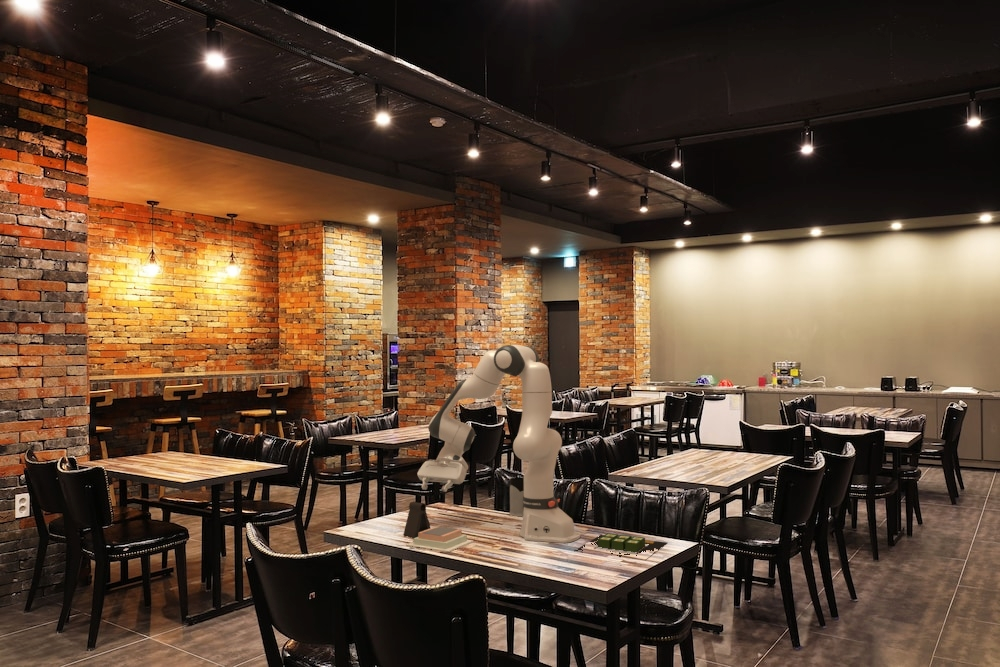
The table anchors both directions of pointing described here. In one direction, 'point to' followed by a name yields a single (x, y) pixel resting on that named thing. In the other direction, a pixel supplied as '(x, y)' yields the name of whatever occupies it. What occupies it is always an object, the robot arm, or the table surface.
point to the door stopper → (416, 520)
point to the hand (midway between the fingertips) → (433, 489)
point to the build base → (440, 539)
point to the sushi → (625, 543)
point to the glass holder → (516, 496)
